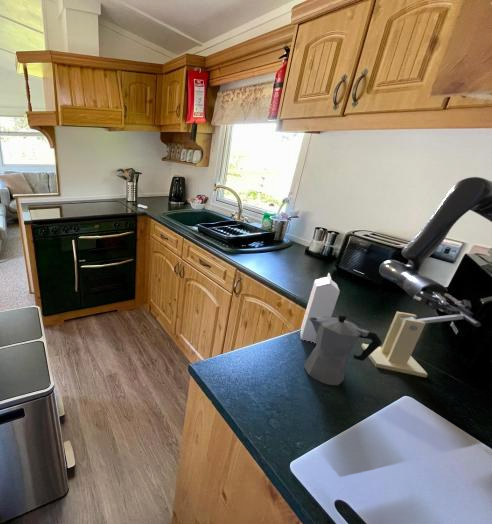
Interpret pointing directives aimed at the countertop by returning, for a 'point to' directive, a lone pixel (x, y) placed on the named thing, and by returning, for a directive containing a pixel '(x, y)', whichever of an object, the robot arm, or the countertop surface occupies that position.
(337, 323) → the coffeepot
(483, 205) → the robot arm
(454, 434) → the countertop surface
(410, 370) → the bracket
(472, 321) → the lever
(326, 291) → the milk
